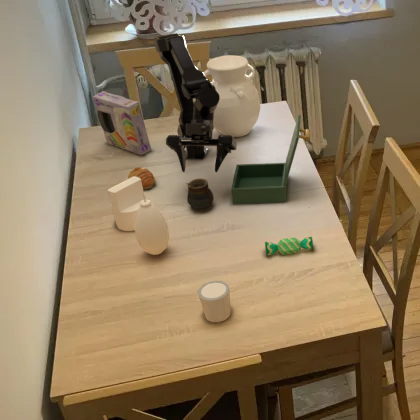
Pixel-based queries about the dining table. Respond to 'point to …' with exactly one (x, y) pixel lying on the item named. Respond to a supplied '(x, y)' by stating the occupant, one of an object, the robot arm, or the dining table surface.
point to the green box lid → (294, 147)
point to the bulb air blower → (151, 228)
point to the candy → (289, 246)
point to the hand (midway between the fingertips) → (199, 171)
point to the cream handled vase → (234, 95)
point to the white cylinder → (215, 300)
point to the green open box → (259, 183)
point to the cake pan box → (122, 122)
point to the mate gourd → (199, 195)
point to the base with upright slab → (126, 202)
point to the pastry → (143, 177)
